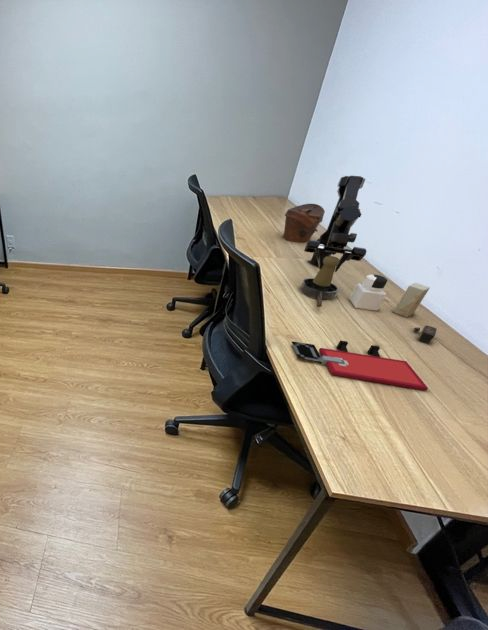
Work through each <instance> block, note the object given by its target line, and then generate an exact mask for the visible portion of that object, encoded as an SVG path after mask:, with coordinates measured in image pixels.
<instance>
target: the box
mask: <svg viewBox="0 0 488 630" xmlns="http://www.w3.org/2000/svg"><path fill="white" fill-rule="evenodd" d="M430 289H431V287H430V286H427V285H424V284H421V283H418V282H414V283H412V284H409V285H408V287H407V288H406V290H405V292H404V293H403V294H402V297H401V298H400V300H399V301H398V303H397V305H396V307H395V308H394V310H393V313H394V314H397V315H400V316H403V317H405V318H408V317H410V316H413V315H414V314H415V312H416V311H417V309H418V308H419V306H420V304H421V303H422V301H423V300H424V298H425V297H426V295H427V293H428V292H429V290H430Z"/></svg>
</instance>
